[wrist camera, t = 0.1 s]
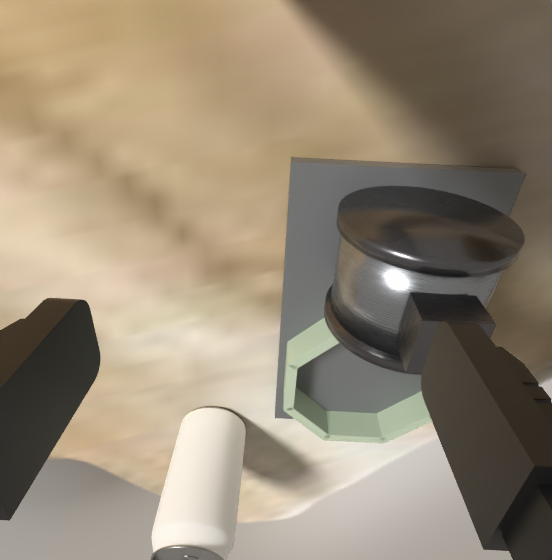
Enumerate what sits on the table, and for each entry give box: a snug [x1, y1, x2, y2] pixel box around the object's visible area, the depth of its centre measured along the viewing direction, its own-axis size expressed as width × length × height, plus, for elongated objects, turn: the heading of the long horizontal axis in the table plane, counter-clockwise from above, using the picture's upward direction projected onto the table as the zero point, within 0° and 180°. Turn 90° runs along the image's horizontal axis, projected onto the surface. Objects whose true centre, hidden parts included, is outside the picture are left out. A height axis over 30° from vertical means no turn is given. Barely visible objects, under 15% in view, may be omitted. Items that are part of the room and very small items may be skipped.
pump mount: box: [275, 157, 526, 443], centre depth 29 cm, size 24×14×4 cm, turn 178°
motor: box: [324, 186, 524, 375], centre depth 21 cm, size 7×9×11 cm
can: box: [151, 406, 246, 560], centre depth 34 cm, size 6×6×12 cm
